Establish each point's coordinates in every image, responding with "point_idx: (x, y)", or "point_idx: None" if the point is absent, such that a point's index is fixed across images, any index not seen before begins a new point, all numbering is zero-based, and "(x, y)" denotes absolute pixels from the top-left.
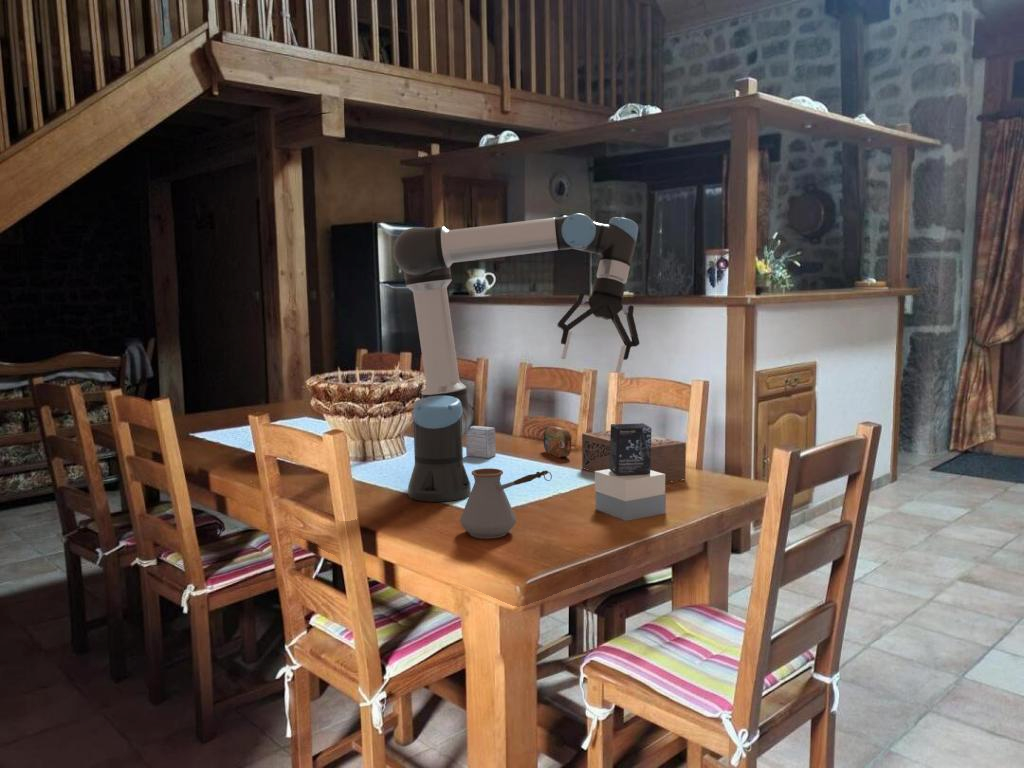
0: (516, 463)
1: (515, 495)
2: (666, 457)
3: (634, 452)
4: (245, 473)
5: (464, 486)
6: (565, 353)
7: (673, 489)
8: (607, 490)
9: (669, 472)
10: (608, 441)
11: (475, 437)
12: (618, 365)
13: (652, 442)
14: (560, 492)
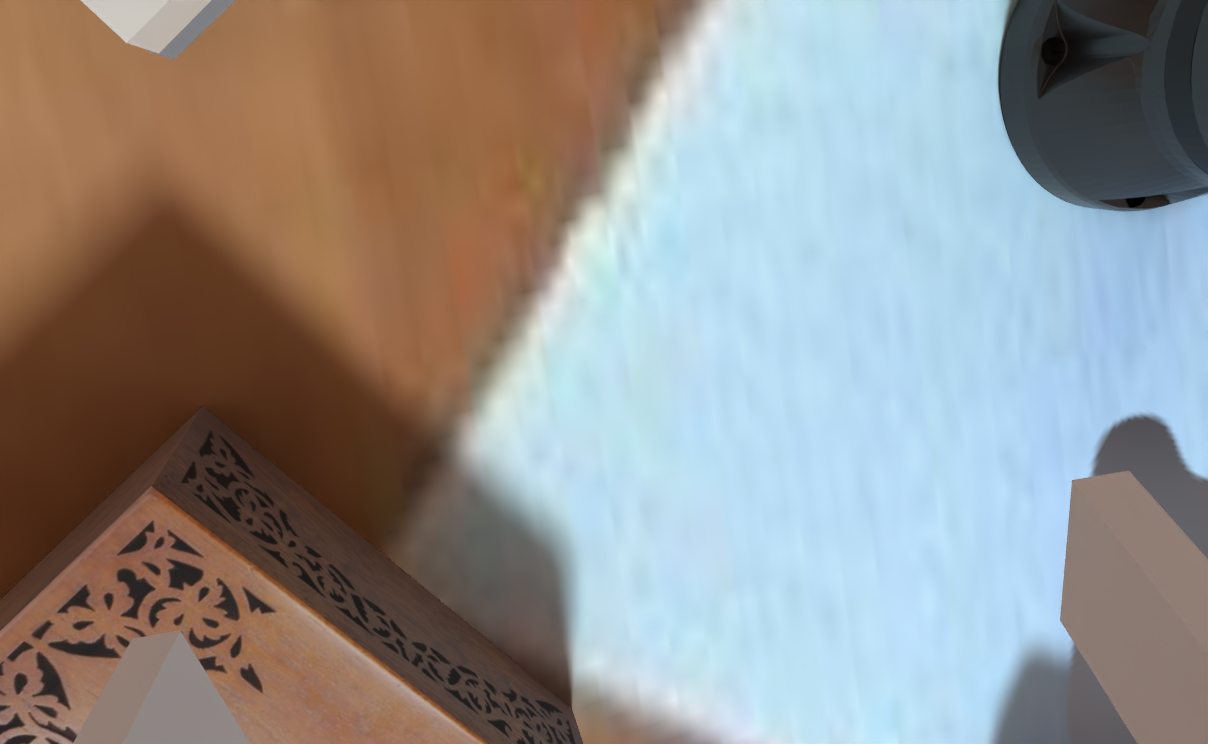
0: (875, 712)
1: (802, 110)
2: (22, 598)
3: None
4: None
5: (1053, 20)
6: (1133, 525)
7: (3, 395)
8: None
9: (40, 567)
10: (424, 689)
11: None
12: (149, 721)
13: None
14: (601, 209)
